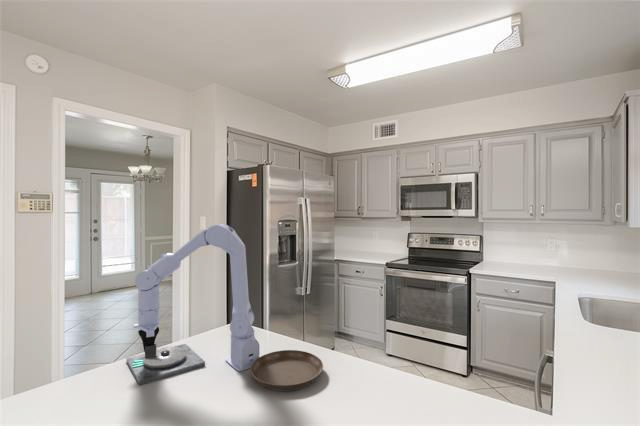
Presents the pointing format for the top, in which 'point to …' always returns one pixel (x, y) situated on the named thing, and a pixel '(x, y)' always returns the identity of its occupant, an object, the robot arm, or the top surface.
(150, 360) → the dial
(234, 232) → the robot arm
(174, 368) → the panel
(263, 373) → the plant saucer
